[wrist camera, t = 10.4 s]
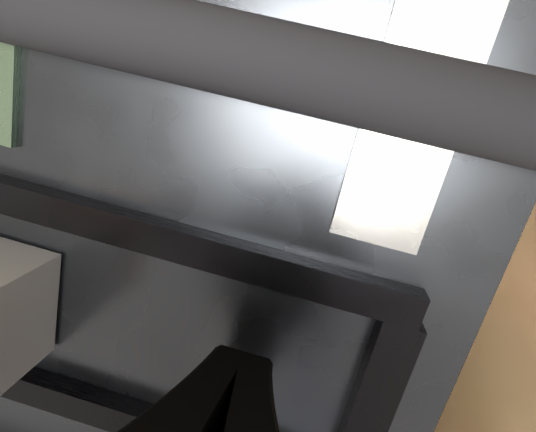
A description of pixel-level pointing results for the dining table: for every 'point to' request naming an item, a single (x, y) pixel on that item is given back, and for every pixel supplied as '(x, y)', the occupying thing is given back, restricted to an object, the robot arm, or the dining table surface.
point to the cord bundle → (293, 69)
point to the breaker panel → (257, 232)
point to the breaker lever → (26, 308)
